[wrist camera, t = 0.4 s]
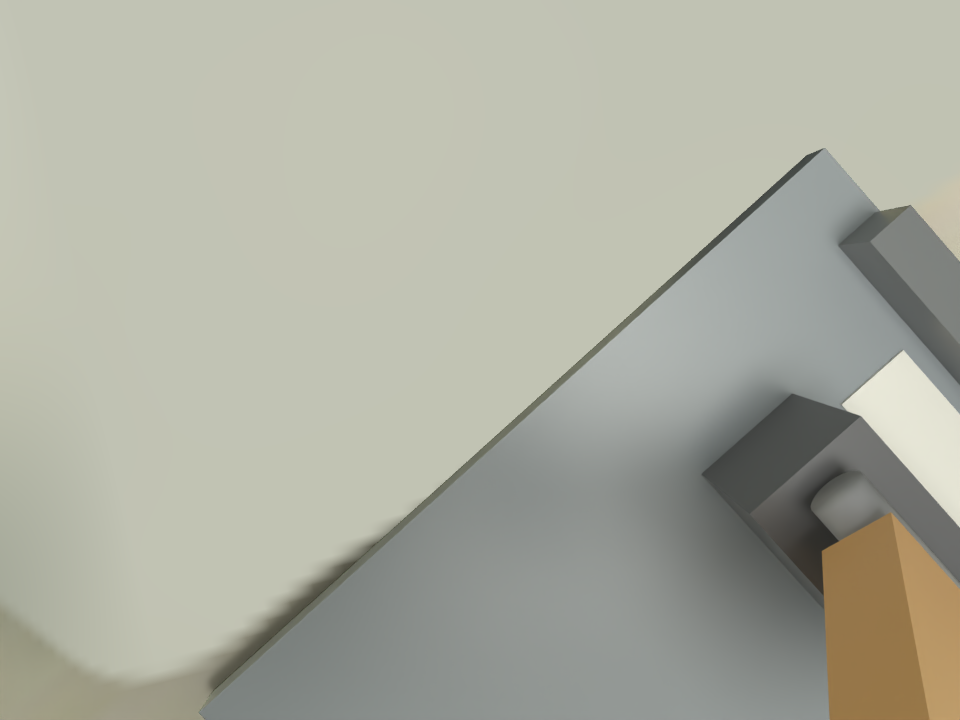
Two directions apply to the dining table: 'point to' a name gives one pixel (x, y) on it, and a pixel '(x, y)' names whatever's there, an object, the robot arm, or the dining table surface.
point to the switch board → (662, 496)
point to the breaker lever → (885, 611)
